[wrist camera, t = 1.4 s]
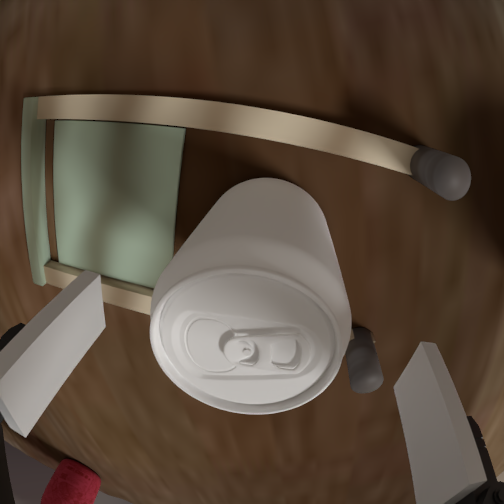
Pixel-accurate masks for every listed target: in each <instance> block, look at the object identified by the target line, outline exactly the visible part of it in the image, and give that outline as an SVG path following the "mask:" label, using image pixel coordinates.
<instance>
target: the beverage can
mask: <svg viewBox="0 0 504 504" xmlns="http://www.w3.org/2000/svg"><path fill="white" fill-rule="evenodd" d="M150 316H151V322H150V341H151V346H152V350H153V353H154V355H155V357H156V359H157V361H158V363H159V365H160V367H161V368H162V370H163V371H164V372H165V374H166V375H167V376H168V377H169V378H170V379H171V380H172V381H173V382H174V383H175V384H176V385H177V386H178V387H179V388H181V389H182V390H183V391H184V392H186V393H187V394H189V395H190V396H192V397H194V398H195V399H197V400H199V401H201V402H203V403H205V404H208V405H210V406H213V407H215V408H219V409H222V410H226V411H230V412H235V413H242V414H271V413H277V412H282V411H286V410H290V409H293V408H296V407H298V406H301V405H303V404H305V403H307V402H309V401H310V400H312V399H314V398H315V397H316V396H318V395H319V394H320V393H322V392H323V391H324V390H325V389H326V388H327V387H328V386H329V384H330V383H331V382H332V381H333V379H334V378H335V376H336V374H337V372H338V370H339V368H340V365H341V362H342V358H343V356H344V354H345V352H346V349H347V347H348V343H349V340H350V335H351V324H352V320H351V311H350V306H349V302H348V298H347V294H346V290H345V286H344V282H343V279H342V275H341V271H340V268H339V264H338V260H337V257H336V253H335V250H334V246H333V243H332V240H331V236H330V233H329V229H328V226H327V223H326V220H325V217H324V215H323V212H322V210H321V209H320V207H319V205H318V204H317V203H316V201H315V200H314V199H313V198H312V197H311V196H310V195H309V194H308V193H307V192H306V191H304V190H303V189H301V188H300V187H298V186H296V185H294V184H292V183H290V182H287V181H284V180H281V179H275V178H256V179H251V180H247V181H244V182H242V183H239V184H237V185H235V186H234V187H232V188H231V189H229V190H228V191H227V192H225V193H224V194H223V195H222V196H221V197H220V198H219V200H218V201H217V202H216V203H215V205H214V206H213V207H212V208H211V210H210V211H209V212H208V213H207V215H206V216H205V217H204V218H203V220H202V221H201V222H200V223H199V225H198V226H197V227H196V229H195V230H194V231H193V232H192V234H191V235H190V236H189V238H188V239H187V240H186V242H185V243H184V244H183V245H182V247H181V248H180V249H179V251H178V252H177V253H176V255H175V256H174V257H173V259H172V260H171V261H170V263H169V264H168V265H167V267H166V268H165V269H164V271H163V272H162V274H161V275H160V277H159V279H158V281H157V283H156V286H155V288H154V291H153V295H152V300H151V309H150Z"/></svg>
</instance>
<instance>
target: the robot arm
mask: <svg viewBox="0 0 504 504" xmlns="http://www.w3.org/2000/svg"><path fill="white" fill-rule="evenodd" d="M105 327H106V325H105V317H104V309H103V299H102V289H101V277H100V274H98V273H94V272H91V271H87V270H85V271H83V272H82V273H81V274H80V275H79V276H78V277H77V278H76V279H74V280H73V281H72V282H71V283H70V284H69V285H68V286H67V287H66V288H64V289H63V290H62V291H61V292H60V293H59V294H58V295H57V296H56V297H55V298H54V299H53V300H52V301H51V302H49V303H48V304H47V305H46V306H45V307H44V308H43V309H42V310H41V311H40V312H39V313H38V314H37V315H36V316H35V317H34V318H33V319H32V320H31V321H30V322H29V323H28V324H27V325H25V324H23V323H20V324H18V325H16V326H14V327H12V328H10V329H9V330H8V331H7V332H6V333H5V334H4V335H3V336H2V337H1V339H0V504H15V501H14V497H13V493H12V488H11V483H10V478H9V472H8V466H7V460H6V453H5V446H4V437H3V429H2V425H1V422H2V420H3V419H5V421H6V422H7V424H8V425H9V427H10V428H11V429H13V430H14V431H16V432H17V433H19V434H21V435H22V436H24V437H25V438H26V437H27V435H28V434H29V432H30V431H31V429H32V428H33V426H34V425H35V423H36V422H37V420H38V419H39V417H40V416H41V415H42V413H43V412H44V410H45V409H46V407H47V406H48V404H49V403H50V401H51V400H52V399H53V397H54V396H55V394H56V393H57V392H58V390H59V389H60V387H61V386H62V385H63V383H64V382H65V380H66V379H67V378H68V376H69V375H70V373H71V372H72V371H73V369H74V368H75V367H76V365H77V364H78V363H79V361H80V360H81V359H82V357H83V356H84V355H85V353H86V352H87V351H88V349H89V348H90V347H91V345H92V344H93V343H94V341H95V340H96V339H97V337H98V336H99V335H100V334H101V332H102V331H103V330H104V328H105ZM394 391H395V396H396V400H397V404H398V408H399V412H400V417H401V421H402V426H403V430H404V435H405V440H406V445H407V450H408V455H409V461H410V466H411V472H412V478H413V484H414V490H415V497H416V504H504V482H501V481H500V482H498V481H497V479H496V476H495V472H494V469H493V466H492V463H491V460H490V457H489V453H488V451H487V448H485V447H486V445H485V442H484V439H482V438H483V436H482V433H481V431H480V428H479V426H478V424H477V423H476V422H475V420H474V419H473V418H472V416H466V414H465V411H464V409H463V406H462V404H461V401H460V399H459V396H458V394H457V391H456V389H455V386H454V384H453V381H452V379H451V377H450V374H449V372H448V370H447V367H446V365H445V363H444V361H443V358H442V356H441V354H440V352H439V350H438V347H437V345H436V343H428V342H420V344H419V346H418V348H417V349H416V351H415V353H414V355H413V356H412V358H411V360H410V362H409V363H408V365H407V366H406V368H405V370H404V371H403V373H402V375H401V376H400V378H399V379H398V381H397V383H396V384H395V386H394Z"/></svg>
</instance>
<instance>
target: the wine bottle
mask: <svg viewBox="0 0 504 504" xmlns="http://www.w3.org/2000/svg"><path fill="white" fill-rule="evenodd" d="M100 485H101V479H100V477H99V476H98V475H97V474H96V473H95V472H94V471H92V470H91V469H89V468H88V467H86V466H85V465H83V464H81V463H79V462H77V461H74V460H71V459H63V460H62V461H61V462H60V464H59V466H58V467H57V469H56V471H55V472H54V474H53V476H52V478H51V480H50V482H49V483H48V485H47V487H46V489H45V492H44V494H43V496H42V499H41V504H93V503H94V500H95V498H96V496H97V493H98V490H99V488H100Z"/></svg>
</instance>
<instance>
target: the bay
mask: <svg viewBox="0 0 504 504" xmlns="http://www.w3.org/2000/svg"><path fill="white" fill-rule="evenodd" d="M46 119H86V120H110V121H127V122H140V123H152V124H163V125H172V126H181V127H190V128H198V129H205V130H213V131H219V132H226V133H233V134H239V135H245V136H251V137H257V138H262V139H268V140H273V141H278V142H283V143H288V144H293V145H298V146H302V147H307V148H311V149H316V150H320V151H325V152H329V153H333V154H337V155H341V156H345V157H349V158H353V159H357V160H360V161H364V162H368V163H371V164H375V165H379V166H382V167H386V168H389V169H392V170H396V171H399V172H402V173H406V174H408V175H409V176H410V177H411V178H413V179H415V180H416V181H418V182H420V183H421V184H423V185H424V186H426V187H428V188H429V189H431V190H432V191H434V192H435V193H437V194H438V195H440V196H442V197H443V198H445V199H447V200H457V199H460V198H461V197H463V196H464V195H465V194H466V192H467V191H468V189H469V187H470V183H471V172H470V169H469V166H468V165H467V163H466V162H465V161H464V160H463V159H461V158H459V157H457V156H454V155H451V154H448V153H445V152H442V151H439V150H436V149H433V148H429V147H426V146H423V145H416V146H410V145H407V144H404V143H401V142H398V141H395V140H392V139H388V138H385V137H382V136H378V135H375V134H372V133H368V132H365V131H361V130H357V129H354V128H350V127H346V126H342V125H338V124H334V123H330V122H326V121H322V120H317V119H313V118H308V117H304V116H299V115H294V114H289V113H284V112H279V111H274V110H268V109H262V108H256V107H250V106H244V105H237V104H230V103H222V102H215V101H206V100H197V99H187V98H175V97H162V96H144V95H112V94H89V95H58V96H42V97H29V98H24V102H23V116H22V139H21V171H22V195H23V209H24V220H25V229H26V238H27V245H28V252H29V259H30V265H31V271H32V277H33V282H34V283H35V284H38V285H41V286H43V285H44V284H46V283H48V284H51V285H53V286H56V287H59V288H62V289H64V288H66V287H67V286H68V285H69V284H70V283H71V282H72V281H73V280H74V279H76V278H77V277H78V276H79V275H80V274H81V273H82V272H83V271H85V270H87V271H91V272H94V273H98V274H100V277H101V289H102V299H103V302H106V303H110V304H113V305H117V306H120V307H124V308H127V309H131V310H134V311H138V312H141V313H145V314H149V315H150V309H151V300H152V295H153V291H154V288H155V286H156V283H157V281H158V279H159V277H160V275H161V274H162V272H163V271H164V269H165V268H166V267H167V265H168V264H169V263H170V261H171V260H172V259H173V250H174V236H175V223H176V211H177V201H178V190H179V181H180V171H181V163H182V154H183V146H184V139H185V131H186V128H178V127H169V126H159V125H148V124H136V123H122V122H105V121H78V120H55V130H54V157H53V183H54V211H55V226H56V239H57V249H58V258H59V262H55V261H52V260H51V257H50V248H49V239H48V229H47V216H46V199H45V133H46ZM374 343H375V339H374V336H373V332H370V331H369V330H368V329H366V328H363V327H357V328H353V329H351V335H350V340H349V343H348V347H347V349H346V352H345V354H344V355H346V359H347V366H348V372H349V378H350V385H351V388H352V390H353V391H355V392H357V393H369V392H372V391H374V390H376V389H377V388H379V387H380V386H381V384H382V383H383V375H382V371H381V367H380V364H379V360H378V356H377V353H376V349H375V345H374Z"/></svg>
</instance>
